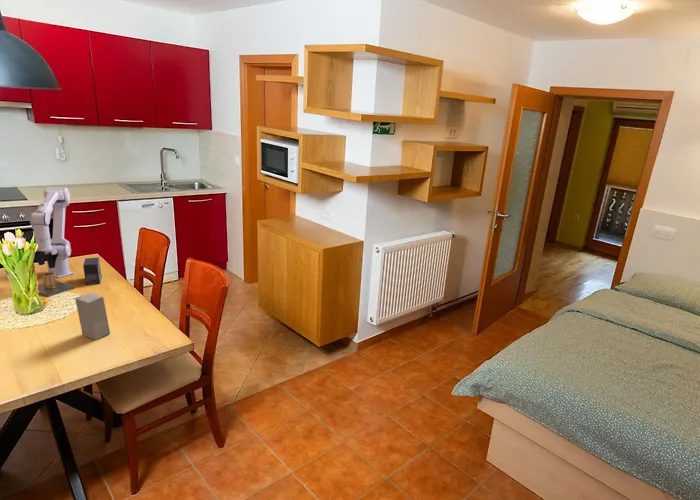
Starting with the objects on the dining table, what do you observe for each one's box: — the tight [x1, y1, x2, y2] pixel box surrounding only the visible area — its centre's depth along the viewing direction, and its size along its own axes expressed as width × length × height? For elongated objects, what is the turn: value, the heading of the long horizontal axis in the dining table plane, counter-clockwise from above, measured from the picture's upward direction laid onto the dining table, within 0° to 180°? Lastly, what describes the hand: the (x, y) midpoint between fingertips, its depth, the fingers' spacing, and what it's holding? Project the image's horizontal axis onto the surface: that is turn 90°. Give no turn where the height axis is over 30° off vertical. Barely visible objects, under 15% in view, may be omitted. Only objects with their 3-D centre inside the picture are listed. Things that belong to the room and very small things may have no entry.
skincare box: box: [74, 292, 111, 341], centre depth 166 cm, size 8×7×16 cm
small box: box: [82, 257, 103, 286], centre depth 217 cm, size 11×6×10 cm, turn 25°
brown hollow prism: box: [41, 271, 57, 288], centre depth 204 cm, size 5×5×6 cm
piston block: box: [37, 280, 75, 298], centre depth 205 cm, size 15×12×5 cm
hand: (47, 266), depth 206 cm, fingers open, 7 cm apart
